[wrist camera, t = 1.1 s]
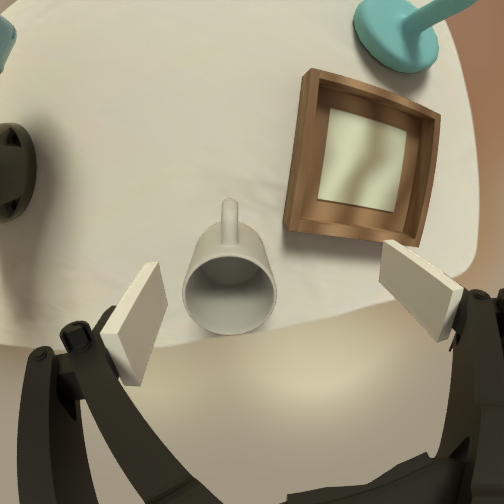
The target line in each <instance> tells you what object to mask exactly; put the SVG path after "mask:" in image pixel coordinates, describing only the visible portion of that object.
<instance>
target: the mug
mask: <svg viewBox="0 0 504 504" xmlns="http://www.w3.org/2000/svg"><path fill="white" fill-rule="evenodd" d="M182 297H183V302H184V305H185V308H186V310H187V312H188V314H189V315H190V317H191V318H192V319H193V320H194V321H195V322H196V323H197V324H198V325H199V326H201V327H202V328H204V329H206V330H208V331H210V332H213V333H216V334H221V335H239V334H244V333H247V332H250V331H252V330H254V329H256V328H257V327H259V326H260V325H262V324H263V323H264V322H265V321H266V320H267V319H268V318H269V316H270V315H271V313H272V311H273V309H274V307H275V304H276V298H277V289H276V283H275V280H274V277H273V274H272V270H271V267H270V264H269V261H268V258H267V255H266V251H265V247H264V244H263V242H262V240H261V238H260V236H259V235H258V234H257V232H256V231H255V230H253V229H252V228H251V227H249V226H248V225H246V224H243V223H240V222H238V203H237V201H236V200H235V199H231V198H230V199H225V200H224V201H223V204H222V215H221V222H220V223H217V224H214V225H212V226H211V227H209V228H208V229H207V230H206V231H205V232H204V233H203V234H202V235H201V237H200V238H199V240H198V242H197V245H196V248H195V251H194V254H193V257H192V260H191V263H190V265H189V268H188V271H187V274H186V277H185V280H184V283H183V290H182Z"/></svg>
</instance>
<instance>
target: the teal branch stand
mask: <svg viewBox="0 0 504 504" xmlns="http://www.w3.org/2000/svg"><path fill="white" fill-rule="evenodd" d="M476 1H477V0H433V1H432V2H430V3H429V4H427V5H425V6H423V7H421V8H419V9H417V8H416V7H415V6H414V5H412V4H411V3H410V2H408V1H406V0H364V1H362V2H361V3H360V4H359V6H358V7H357V9H356V12H355V14H354V25H355V30H356V32H357V34H358V36H359V39H360V41H361V43H362V44H363V45H364V46H365V48H366V49H367V50H368V51H369V52H370V54H371V55H372V56H373V57H375V58H376V59H377V60H378V61H380V62H381V63H382V64H383V65H385V66H387V67H389V68H391V69H393V70H395V71H397V72H404V73H415V72H418V71H421V70H425V69H427V68H430V67H431V66H432V64H433V63H434V62H435V61H436V59H437V56H438V50H439V46H438V41H437V36H436V34H435V32H434V30H433V28H432V25H434V24H436V23H438V22H440V21H442V20H444V19H446V18H448V17H450V16H452V15H454V14H457V13H459V12H461V11H463V10H464V9H466V8H467V7H469V6H470V5H472V4H473V3H475V2H476Z"/></svg>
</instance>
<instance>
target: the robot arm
mask: <svg viewBox="0 0 504 504" xmlns="http://www.w3.org/2000/svg"><path fill="white" fill-rule="evenodd" d="M16 37H17V33H16V29H15V27H14V26H13V25H12V24H11V23H10V22H9V21H8V20H7V19H5V18H4V17H3V16H1V15H0V73H2V72H3V70H4V65H5V62H6V60H7V58H8V56H9V54H10V52H11V50H12V48H13V46H14V44H15V41H16ZM35 178H36V157H35V151H34V147H33V143H32V140H31V138H30V136H29V134H28V133H27V131H26V130H25V129H24V128H23V127H22V126H20V125H19V124H16V123H2V124H0V223H4V222H7V221H10V220H12V219H14V218H16V217H18V216H19V215H20V214H21V213H22V212H23V211H24V210H25V208H26V207H27V205H28V203H29V201H30V199H31V196H32V193H33V189H34V184H35ZM379 282H380V283H381V284H382V285H383V286H384V287H385V288H386V289H387V290H388V291H389V292H390V293H391V294H392V295H393V296H394V297H395V298H396V299H397V300H398V301H399V302H400V303H401V305H403V307H404V308H405V309H406V310H407V311H408V312H409V313H410V314H411V315H412V316H413V317H414V318H415V319H416V320H417V321H418V322H419V323H420V325H421V326H422V327H423V328H424V329H425V330H426V331H427V332H428V333H429V334H430V335H431V337H432V338H433V339H434V340H435V341H436V342H437V343H438V342H440V341H443V340H446V339H448V337H449V334H450V332H451V329H452V328H453V329H454V330H455V331H456V333H455V336H454V339H453V342H452V344H451V346H450V349H449V351H451V349H452V348H453V361H452V374H451V384H450V393H449V400H448V406H447V413H446V418H445V424H444V429H443V433H442V438H441V443H440V446H439V450H438V452H437V454H436V456H435V458H430V457H429V456H428V454H427V452H425V453H423V454H421V455H418V456H416V457H414V458H412V459H409V460H407V461H405V462H402V463H400V464H398V465H396V466H395V467H393V468H392V469H391V470H389V471H387V472H386V473H384V474H383V475H381V476H380V477H378V478H377V479H375V480H373V481H372V482H370V483H368V484H365V485H358V486H344V487H325V488H320V489H315V490H310V491H305V492H300V493H294V494H287V501H286V502H283V503H280V504H504V288H503V289H500V290H499V293H498V296H497V298H491V297H490V296H489V295H488V294H487V293H486V292H484V291H482V290H478V289H473V290H470V291H468V290H467V289H465V288H464V287H463V286H461V285H460V284H459V283H457V282H455V281H454V280H453V279H452V278H450V277H449V276H448V275H446V274H445V273H443V272H441V271H440V270H438V269H437V268H435V267H434V266H433V265H431V264H430V263H428V262H427V261H425V260H424V259H422V258H421V257H419V256H418V255H416V254H415V253H413V252H412V251H410V250H409V249H407V248H406V247H404V246H403V245H401V244H400V243H398V242H396V241H395V240H383V247H382V257H381V267H380V275H379ZM167 306H168V302H167V298H166V294H165V289H164V285H163V281H162V276H161V272H160V267H159V262H150V263H145V265H144V266H143V268H142V269H141V271H140V272H139V273H138V275H137V276H136V278H135V279H134V281H133V282H132V284H131V285H130V287H129V288H128V290H127V291H126V293H125V294H124V296H123V297H122V299H121V300H120V302H119V303H118V305H117V306H111V307H110V308H109V309H107V310H106V311H105V312H104V313H103V315H102V316H101V319H99V321H98V322H97V324H96V325H95V327H94V328H93V330H92V331H91V328H90V326H89V324H88V323H87V322H85V321H75V322H72V323H70V324H68V325H66V326H65V327H64V328H63V329H62V330H61V332H60V338H61V340H62V342H63V344H64V346H65V348H66V350H67V352H68V353H65V354H59V355H55V353H54V351H53V349H52V348H51V347H49V346H42V347H38V348H36V349H35V350H34V351H33V352H32V353H31V354H30V355H29V357H28V361H27V366H26V371H25V377H24V382H23V388H22V395H21V402H20V410H19V411H20V412H19V421H18V437H17V477H18V491H19V501H20V504H98V500H97V497H96V493H95V489H94V486H93V482H92V477H91V473H90V468H89V463H88V458H87V453H86V448H85V442H84V435H83V427H82V419H81V409H80V400H81V399H85V400H86V402H87V404H88V406H89V409H90V411H91V413H92V415H93V417H94V419H95V421H96V424H97V425H98V427H99V430H100V432H101V433H102V435H103V437H104V439H105V441H106V443H107V445H108V446H109V448H110V450H111V452H112V454H113V455H114V457H115V459H116V460H117V462H118V463H119V465H120V467H121V468H122V470H123V472H124V473H125V475H126V476H127V478H128V479H129V481H130V482H131V484H132V485H133V487H134V488H135V489H136V491H137V492H138V494H139V495H140V496H141V498H142V499H143V501H144V502H145V504H223V503H222V502H221V501H220V500H219V499H218V498H216V497H215V496H214V495H213V494H212V493H211V492H210V491H209V490H208V489H207V488H206V487H205V486H204V485H203V484H202V483H200V482H199V481H198V480H197V479H195V478H194V477H193V476H192V475H191V474H190V473H189V472H188V471H187V470H186V469H185V468H184V467H183V466H182V465H181V463H179V461H178V460H177V459H176V458H175V457H174V456H173V455H172V453H171V452H170V451H169V450H168V449H167V447H166V446H165V445H164V444H163V443H162V441H161V440H160V439H159V437H158V436H157V435H156V434H155V433H154V431H153V430H152V429H151V427H150V426H149V425H148V423H147V422H146V421H145V419H144V418H143V417H142V415H141V414H140V412H139V411H138V410H137V408H136V407H135V405H134V404H133V402H132V401H131V399H130V398H129V396H128V395H127V393H126V392H125V390H124V389H123V387H122V386H121V384H120V382H119V381H118V378H119V376H120V378H121V380H122V382H123V384H124V385H126V386H141V383H142V380H143V376H144V373H145V370H146V367H147V364H148V361H149V358H150V355H151V352H152V349H153V346H154V343H155V340H156V337H157V334H158V331H159V328H160V325H161V323H162V320H163V317H164V314H165V311H166V309H167Z"/></svg>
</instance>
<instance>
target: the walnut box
mask: <svg viewBox="0 0 504 504" xmlns="http://www.w3.org/2000/svg"><path fill="white" fill-rule="evenodd" d="M440 121H441V115H440V114H438V113H436V112H434V111H432V110H430V109H428V108H426V107H424V106H422V105H420V104H417V103H415V102H413V101H411V100H408V99H406V98H404V97H401V96H399V95H396V94H394V93H391V92H389V91H386V90H384V89H381V88H378V87H375V86H372V85H370V84H367V83H364V82H361V81H358V80H354V79H351V78H348V77H344V76H341V75H338V74H334V73H330V72H326V71H322V70H318V69H314V68H311V69H310V70H309V71H308V72H307V73H306V74H305V75H304V76H303V77H302V83H301V91H300V100H299V108H298V116H297V124H296V131H295V139H294V146H293V154H292V161H291V168H290V175H289V182H288V189H287V195H286V202H285V209H284V215H283V223H284V224H285V226H286V227H287V229H288V230H289V231H295V232H304V233H313V234H321V235H329V236H338V237H346V238H353V239H361V240H369V241H376V242H383V240H395V241H396V242H398V243H400V244H401V245H405V246H412V247H419V244H420V240H421V237H422V233H423V229H424V225H425V220H426V216H427V212H428V207H429V202H430V197H431V192H432V186H433V180H434V174H435V168H436V161H437V153H438V144H439V134H440Z"/></svg>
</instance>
